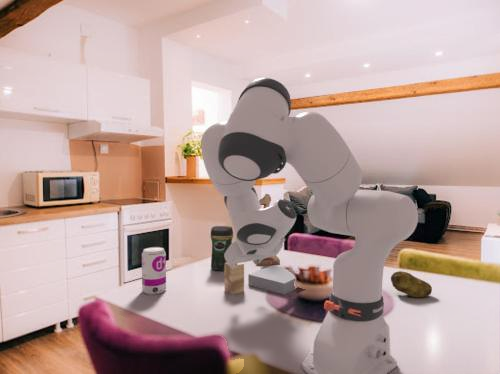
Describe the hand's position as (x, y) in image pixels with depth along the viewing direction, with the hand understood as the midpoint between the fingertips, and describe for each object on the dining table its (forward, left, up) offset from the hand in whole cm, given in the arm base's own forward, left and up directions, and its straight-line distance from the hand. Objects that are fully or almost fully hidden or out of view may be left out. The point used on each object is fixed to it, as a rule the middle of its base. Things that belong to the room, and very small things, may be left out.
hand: (244, 264), depth 118 cm
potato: (+38, -43, -12) cm, 59 cm away
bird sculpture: (+41, +21, -12) cm, 47 cm away
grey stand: (+19, -1, -11) cm, 22 cm away
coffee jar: (+20, +29, -12) cm, 37 cm away
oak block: (+3, +7, -12) cm, 14 cm away
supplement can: (-15, +29, -12) cm, 35 cm away
